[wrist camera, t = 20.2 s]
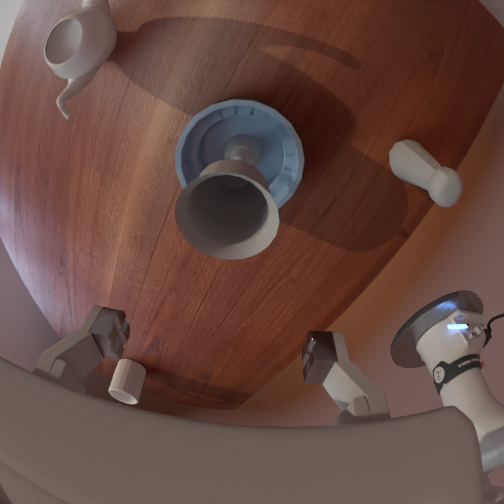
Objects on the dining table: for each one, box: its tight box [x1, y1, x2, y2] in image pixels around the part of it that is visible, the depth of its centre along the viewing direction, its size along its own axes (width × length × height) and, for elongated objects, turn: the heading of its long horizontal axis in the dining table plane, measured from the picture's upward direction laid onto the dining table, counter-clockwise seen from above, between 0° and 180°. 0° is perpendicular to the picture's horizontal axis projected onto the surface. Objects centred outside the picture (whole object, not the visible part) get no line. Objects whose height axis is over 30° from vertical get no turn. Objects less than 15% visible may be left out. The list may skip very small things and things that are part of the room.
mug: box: [109, 359, 146, 404], centre depth 62 cm, size 8×12×10 cm
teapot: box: [44, 0, 117, 119], centre depth 21 cm, size 10×20×9 cm, turn 167°
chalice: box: [175, 134, 279, 260], centre depth 26 cm, size 7×7×18 cm
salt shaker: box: [389, 139, 463, 207], centre depth 28 cm, size 6×6×13 cm
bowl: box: [176, 97, 305, 209], centre depth 32 cm, size 14×14×6 cm
